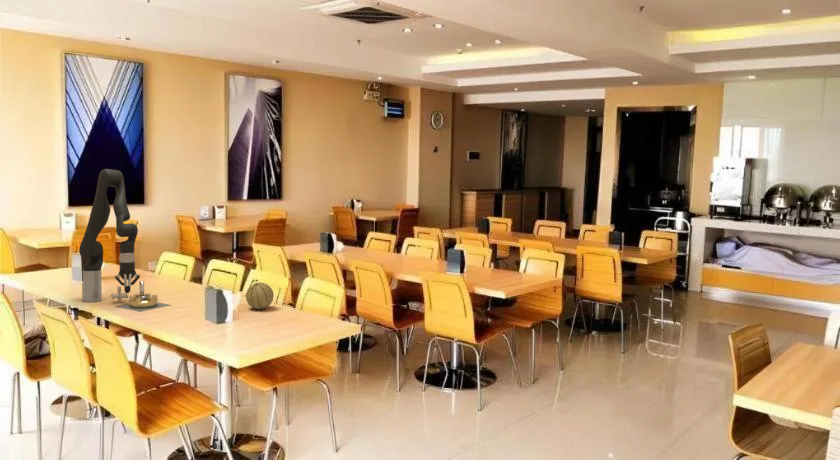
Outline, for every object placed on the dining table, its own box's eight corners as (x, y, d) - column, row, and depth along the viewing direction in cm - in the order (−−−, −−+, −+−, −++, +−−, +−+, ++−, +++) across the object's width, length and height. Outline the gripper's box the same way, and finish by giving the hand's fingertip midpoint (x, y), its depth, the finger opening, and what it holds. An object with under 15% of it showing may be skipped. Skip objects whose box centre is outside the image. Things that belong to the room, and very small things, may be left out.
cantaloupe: (278, 307, 364) (278, 281, 363) (265, 313, 350) (265, 285, 349) (254, 304, 368) (254, 278, 367) (240, 310, 354) (240, 283, 353)
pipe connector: (133, 303, 359) (133, 286, 358) (120, 307, 350) (120, 289, 349) (118, 302, 362) (118, 284, 361) (105, 305, 352) (104, 287, 351)
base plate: (114, 309, 345) (114, 305, 345) (146, 302, 363) (146, 299, 363) (140, 314, 336) (140, 311, 336) (171, 307, 353) (171, 304, 353)
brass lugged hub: (123, 305, 346) (123, 283, 345) (145, 301, 359) (145, 279, 357) (141, 309, 340) (141, 286, 339) (163, 304, 352) (163, 282, 351)
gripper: (114, 262, 341) (114, 295, 343) (141, 261, 348) (141, 293, 350) (112, 260, 348) (113, 292, 349) (139, 259, 354) (139, 290, 356)
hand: (127, 292), depth 349 cm, fingers closed
